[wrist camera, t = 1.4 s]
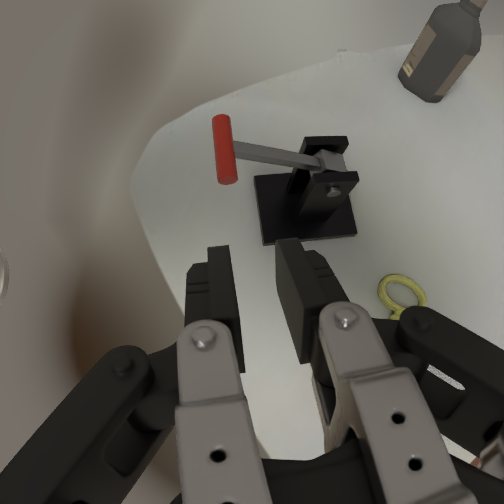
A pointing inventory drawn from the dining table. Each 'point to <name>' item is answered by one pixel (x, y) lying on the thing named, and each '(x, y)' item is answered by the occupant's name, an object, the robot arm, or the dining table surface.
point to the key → (390, 303)
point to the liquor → (443, 49)
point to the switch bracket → (307, 199)
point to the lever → (264, 154)
